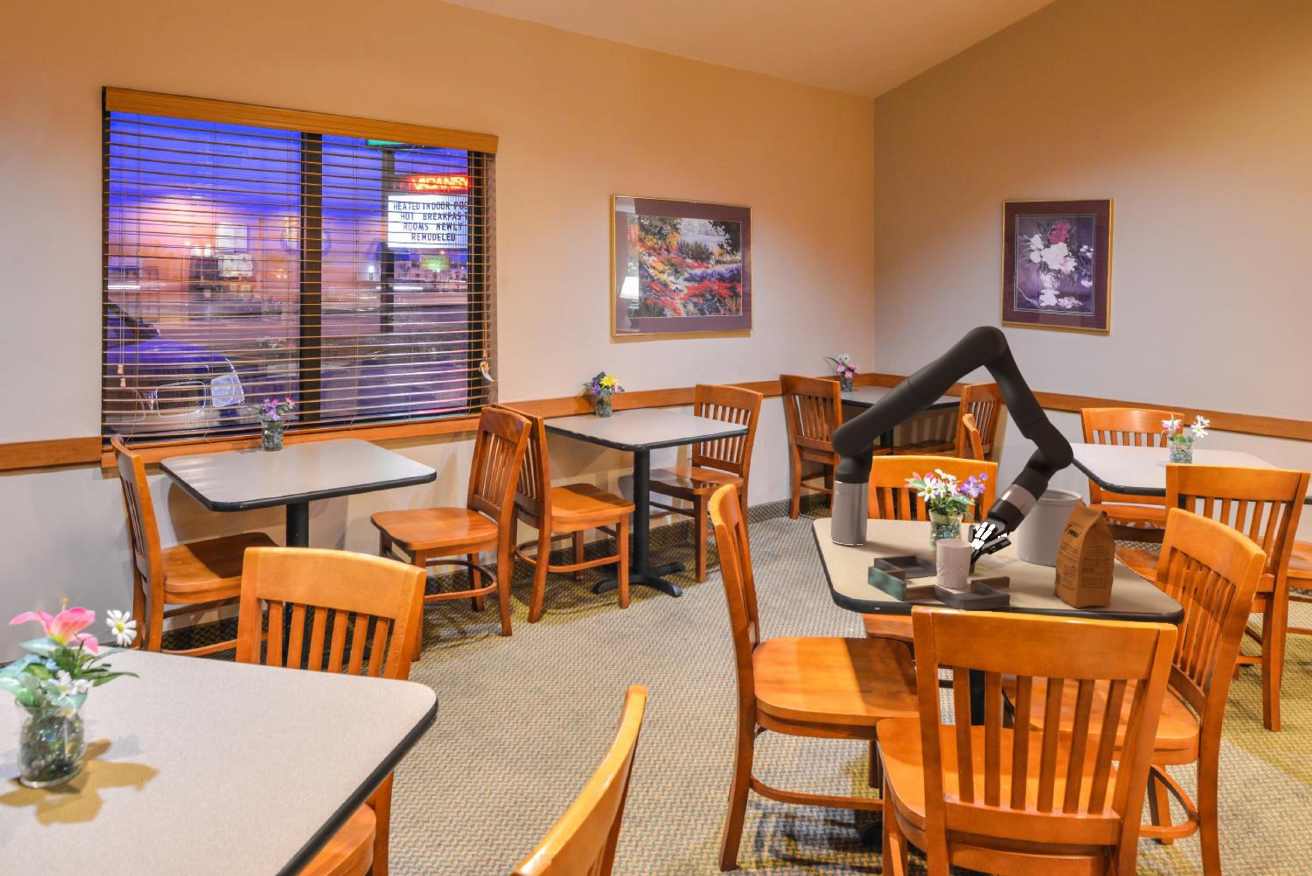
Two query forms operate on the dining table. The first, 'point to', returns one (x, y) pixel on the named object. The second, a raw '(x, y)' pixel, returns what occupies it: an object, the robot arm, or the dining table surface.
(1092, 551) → the coffee package
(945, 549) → the white cup
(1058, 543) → the utensil holder
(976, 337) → the robot arm
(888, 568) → the grey compartment tray
